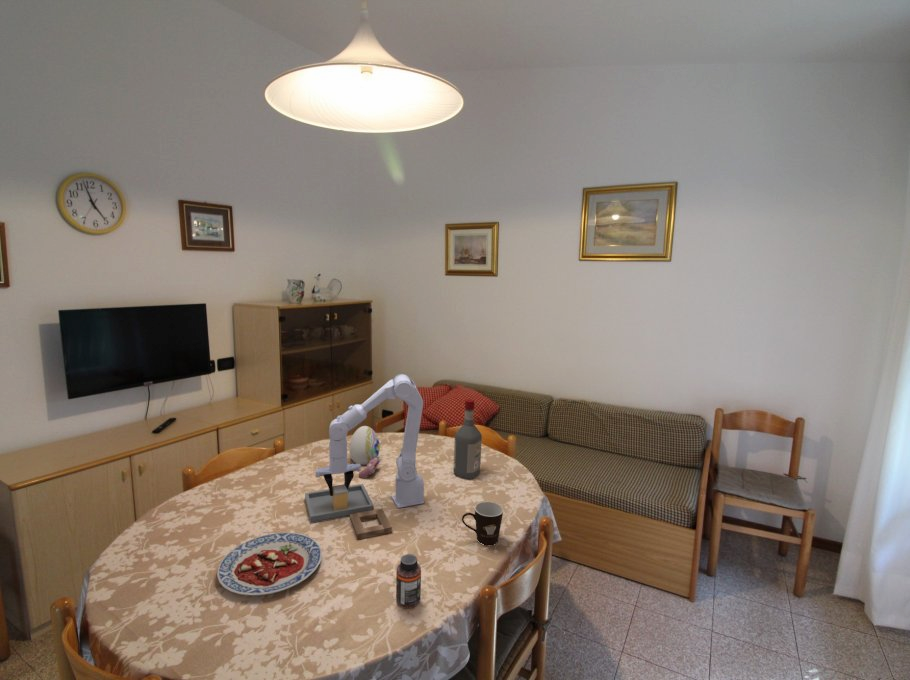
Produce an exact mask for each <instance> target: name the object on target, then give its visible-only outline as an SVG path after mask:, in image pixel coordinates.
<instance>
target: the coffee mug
mask: <svg viewBox="0 0 910 680" xmlns="http://www.w3.org/2000/svg"><path fill="white" fill-rule="evenodd" d="M503 515H504V507H503V506H502V505H501V504H499V503H497V502H494V501H487V500H486V501H480V502H478V503H476V504H475V505H474V513H471V512H466V513H464V514H462V517H461V522H462V523H463V525H464V526H465V527H466V528H468V529H469V530H471V531H473V532H474V533H475V534H476V541H477V540H478V541H479V542H480V543H482V544H484V545H483V546H485V545H492V546H495V545H497V543H498V542H499V539H500V538H499V537H500V532H501V526H502V522H503V521H502V520H503ZM466 516H471V517H472V518H473V519H474V520H475V528H474V527H472V526H470V525H468V524H467V523H466V522H465V520H464V519H465V518H466ZM478 541H477V542H478ZM479 542H478V543H479ZM480 543H479V544H480ZM482 544H481V545H482ZM494 544H495V545H494Z"/></svg>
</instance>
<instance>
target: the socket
mask: <svg viewBox="0 0 910 680" xmlns="http://www.w3.org/2000/svg"><path fill="white" fill-rule="evenodd" d="M373 520H376V521H377V523H378V525H374V526H369V527H364V525H363V523H362V522H368V521H373ZM349 521H350V525H351V527H352V530H353V532H354V535H355V537H356V540H357V541H358V540H363V539H367V538H368V539H369V538H373V537H378V536H383V535H387V534H391V533H393V527H392V524H391V522H390V520H389V518H388V516H387V515H386V513H385V510H383V508H378V509H374V510H372V511H366V512H361V513H355V514H350V516H349Z"/></svg>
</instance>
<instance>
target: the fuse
mask: <svg viewBox="0 0 910 680" xmlns="http://www.w3.org/2000/svg"><path fill="white" fill-rule="evenodd" d="M332 490H333V496H332V505H333V508H334V510H335V511H336V510H342V509H347V505H348V490H347V488H346V486H345V484H339V485H332Z"/></svg>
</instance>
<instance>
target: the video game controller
mask: <svg viewBox="0 0 910 680" xmlns="http://www.w3.org/2000/svg"><path fill="white" fill-rule="evenodd" d="M380 461H381V460H380V459H379V458H378V457H377V458H374V459H372V460H370V462H369V463H368V464H367V465H366V467H365V468H364V469H362V470H361V471H359V473H358V477H359V478H361V479H363V478H364V479H365V478H366V477H368V476H369V477H370V476H371V475H372V473H374V472H375V471H376V468H377V467H378V466H379V465H380Z"/></svg>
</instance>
